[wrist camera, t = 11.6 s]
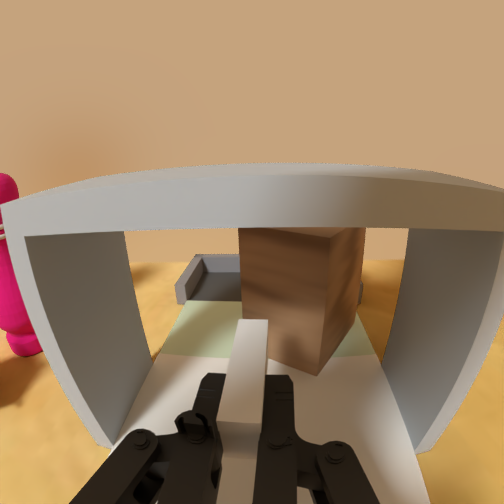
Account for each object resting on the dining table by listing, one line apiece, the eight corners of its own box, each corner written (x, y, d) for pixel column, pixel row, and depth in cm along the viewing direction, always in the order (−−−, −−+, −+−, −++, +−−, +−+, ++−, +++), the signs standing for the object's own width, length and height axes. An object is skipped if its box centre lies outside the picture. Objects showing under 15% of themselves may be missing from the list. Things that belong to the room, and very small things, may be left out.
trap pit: (360, 303, 32) (363, 284, 31) (177, 303, 33) (174, 285, 32) (342, 269, 41) (343, 253, 40) (197, 270, 43) (195, 254, 42)
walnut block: (316, 376, 20) (330, 238, 17) (244, 348, 24) (238, 223, 21) (354, 322, 27) (366, 213, 24) (294, 305, 31) (296, 205, 28)
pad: (381, 373, 21) (382, 369, 20) (152, 372, 22) (151, 368, 22) (350, 303, 32) (351, 299, 32) (187, 304, 33) (186, 300, 33)
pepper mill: (62, 320, 29) (29, 150, 22) (54, 355, 22) (5, 148, 16) (16, 328, 26) (-22, 166, 19) (2, 362, 20) (-52, 169, 13)
